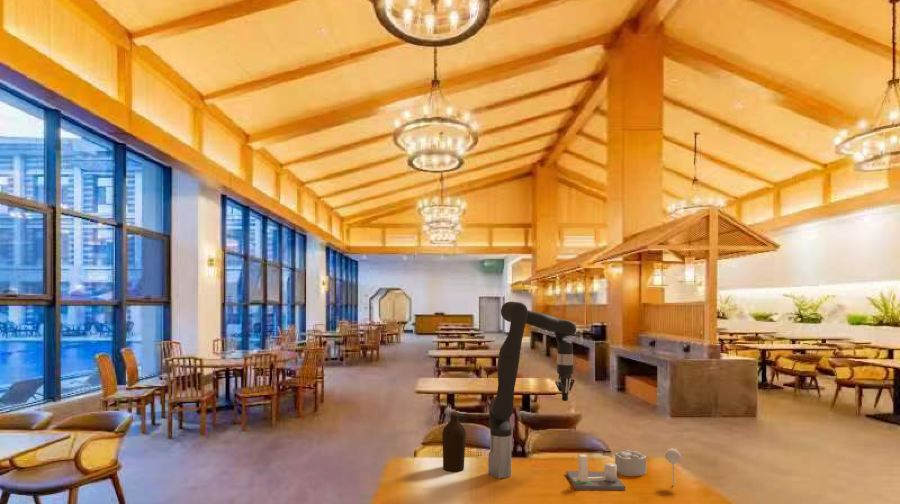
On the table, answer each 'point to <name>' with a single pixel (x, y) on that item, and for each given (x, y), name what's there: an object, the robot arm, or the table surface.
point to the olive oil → (453, 445)
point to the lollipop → (673, 457)
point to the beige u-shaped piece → (609, 475)
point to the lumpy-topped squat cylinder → (630, 463)
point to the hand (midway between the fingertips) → (565, 400)
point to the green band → (583, 482)
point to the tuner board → (595, 482)
